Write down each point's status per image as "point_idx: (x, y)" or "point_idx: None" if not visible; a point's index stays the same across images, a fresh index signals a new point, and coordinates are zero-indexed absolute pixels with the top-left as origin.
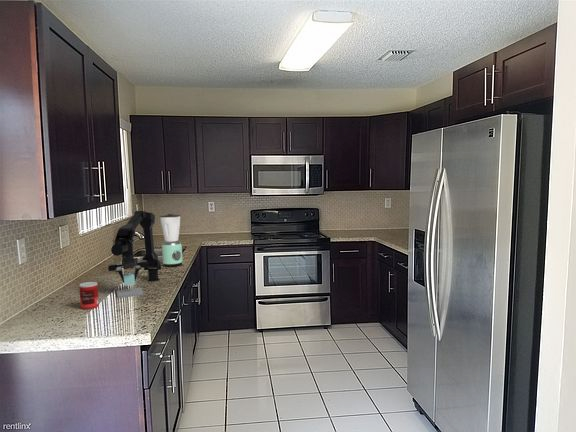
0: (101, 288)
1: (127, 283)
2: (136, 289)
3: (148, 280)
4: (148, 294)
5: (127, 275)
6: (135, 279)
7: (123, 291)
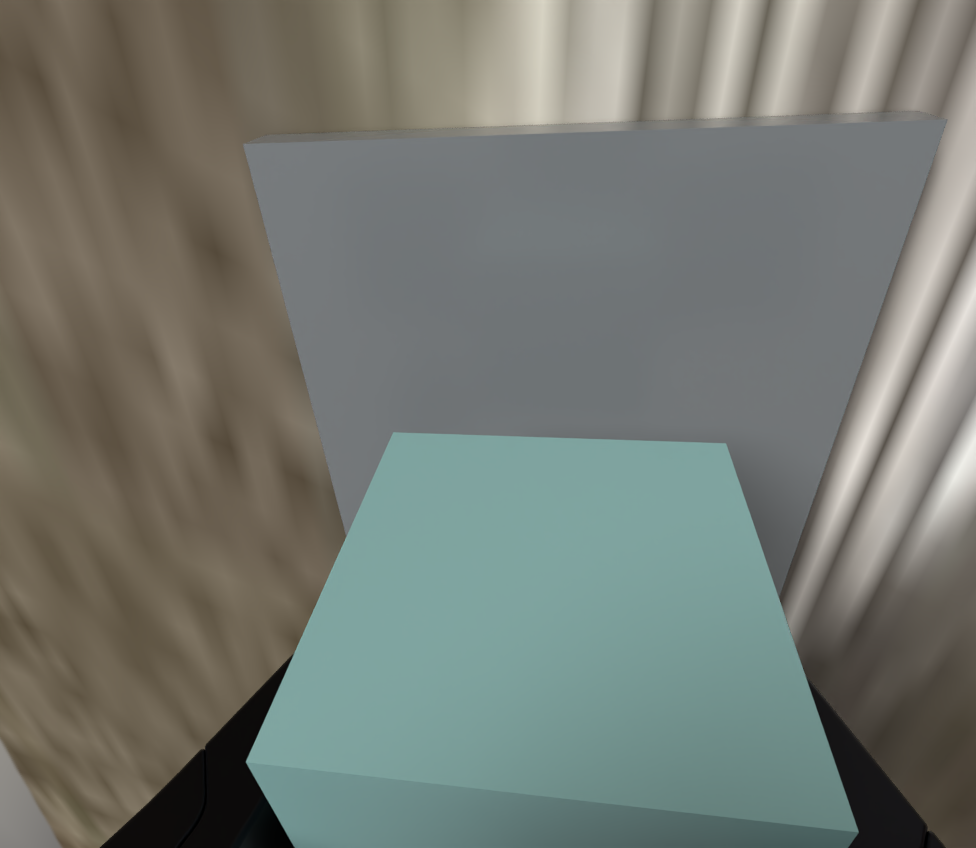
0: None
1: (623, 478)
2: None
3: None
4: (145, 117)
5: (618, 819)
6: None
7: None
